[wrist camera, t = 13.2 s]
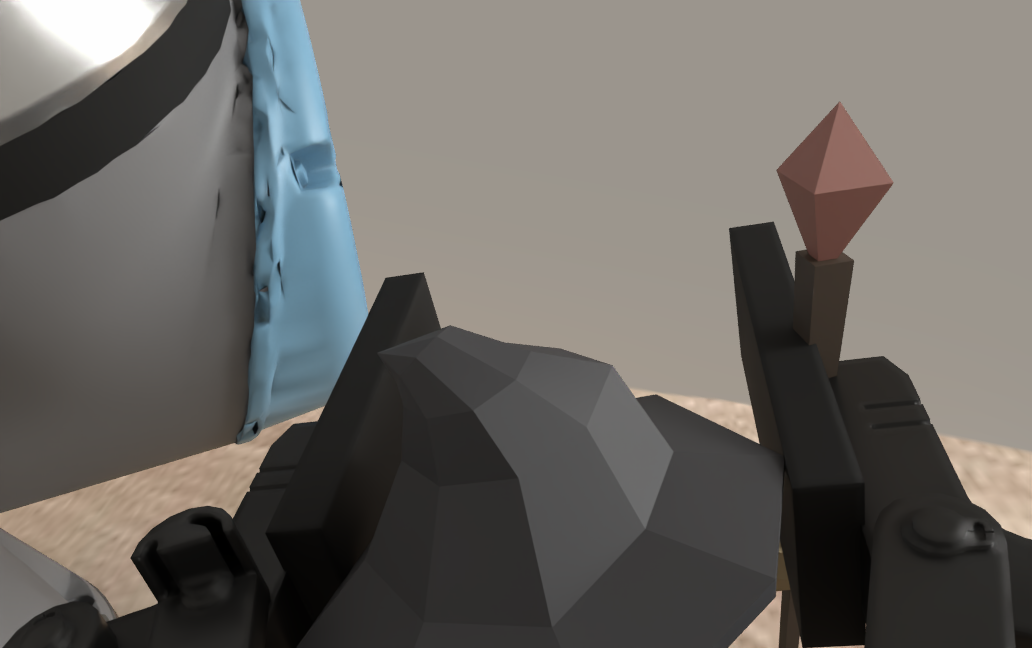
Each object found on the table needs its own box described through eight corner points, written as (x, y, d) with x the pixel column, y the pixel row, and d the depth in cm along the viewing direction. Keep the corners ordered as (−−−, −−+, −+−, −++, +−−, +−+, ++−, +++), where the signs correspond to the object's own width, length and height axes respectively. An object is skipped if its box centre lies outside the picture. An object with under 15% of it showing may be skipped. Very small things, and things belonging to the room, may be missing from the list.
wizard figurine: (694, 1205, 11) (597, 600, 5) (381, 951, 14) (64, 372, 8) (874, 695, 16) (943, 87, 10) (619, 589, 20) (547, 71, 13)
